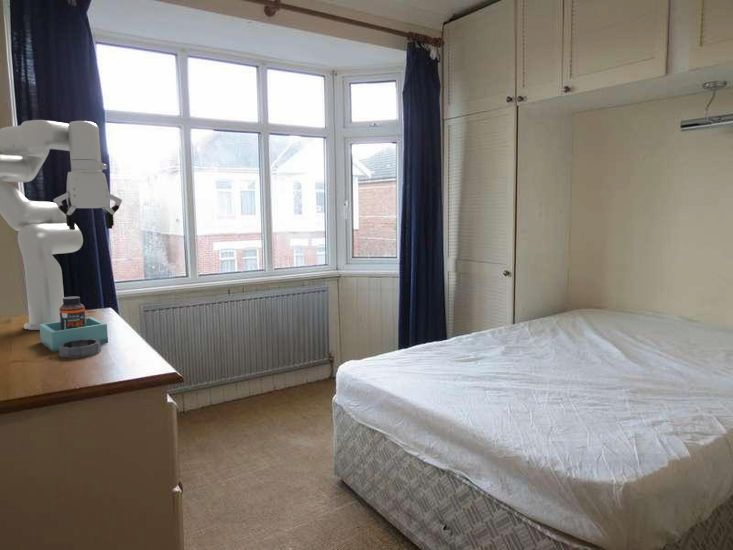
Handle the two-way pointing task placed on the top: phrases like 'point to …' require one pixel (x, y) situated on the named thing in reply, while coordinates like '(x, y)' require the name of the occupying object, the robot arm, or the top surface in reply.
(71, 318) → the supplement bottle
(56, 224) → the robot arm
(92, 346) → the collar
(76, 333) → the bin
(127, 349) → the top surface
